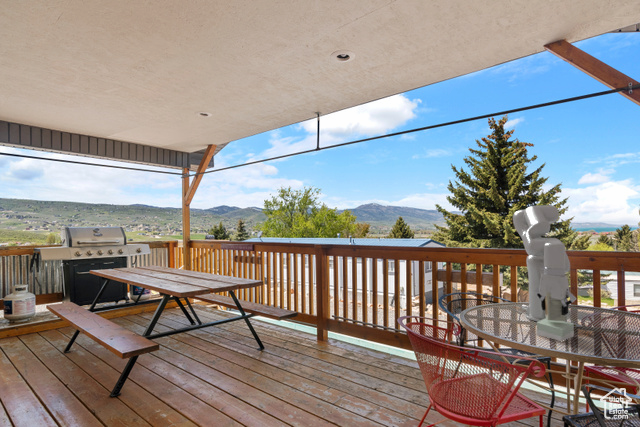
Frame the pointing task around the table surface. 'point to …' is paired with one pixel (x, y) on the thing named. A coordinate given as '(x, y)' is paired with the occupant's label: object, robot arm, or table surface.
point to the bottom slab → (554, 335)
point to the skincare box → (553, 308)
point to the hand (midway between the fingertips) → (554, 311)
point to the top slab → (555, 327)
